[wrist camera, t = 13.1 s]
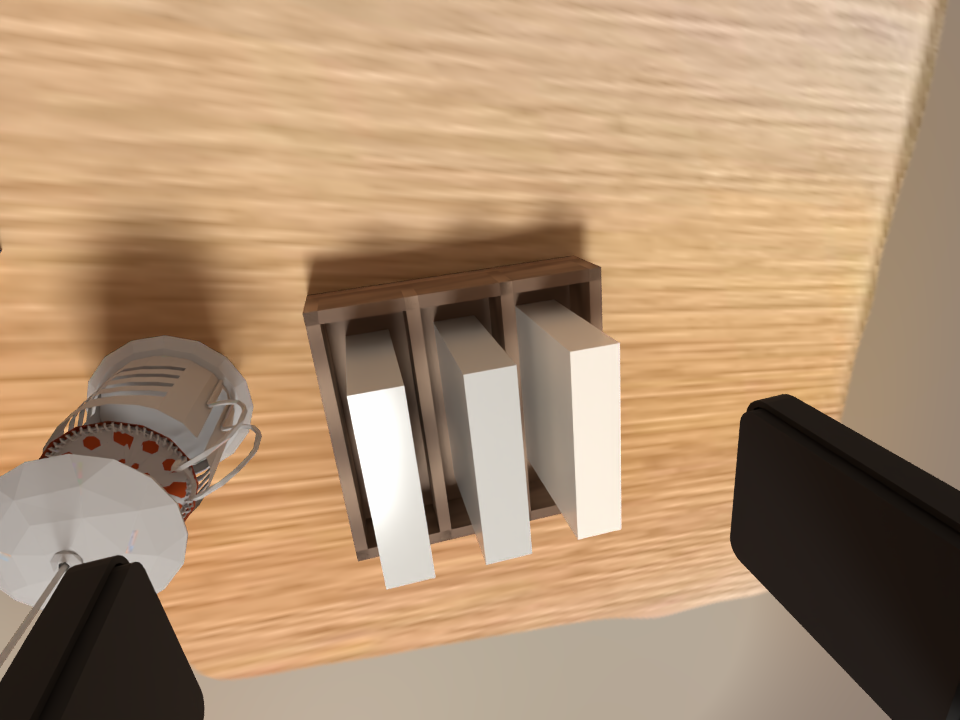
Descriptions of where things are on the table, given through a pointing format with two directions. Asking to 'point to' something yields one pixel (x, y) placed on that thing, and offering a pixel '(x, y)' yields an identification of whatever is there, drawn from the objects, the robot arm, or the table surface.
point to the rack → (433, 371)
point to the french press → (123, 469)
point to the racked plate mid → (485, 436)
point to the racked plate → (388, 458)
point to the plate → (572, 413)
